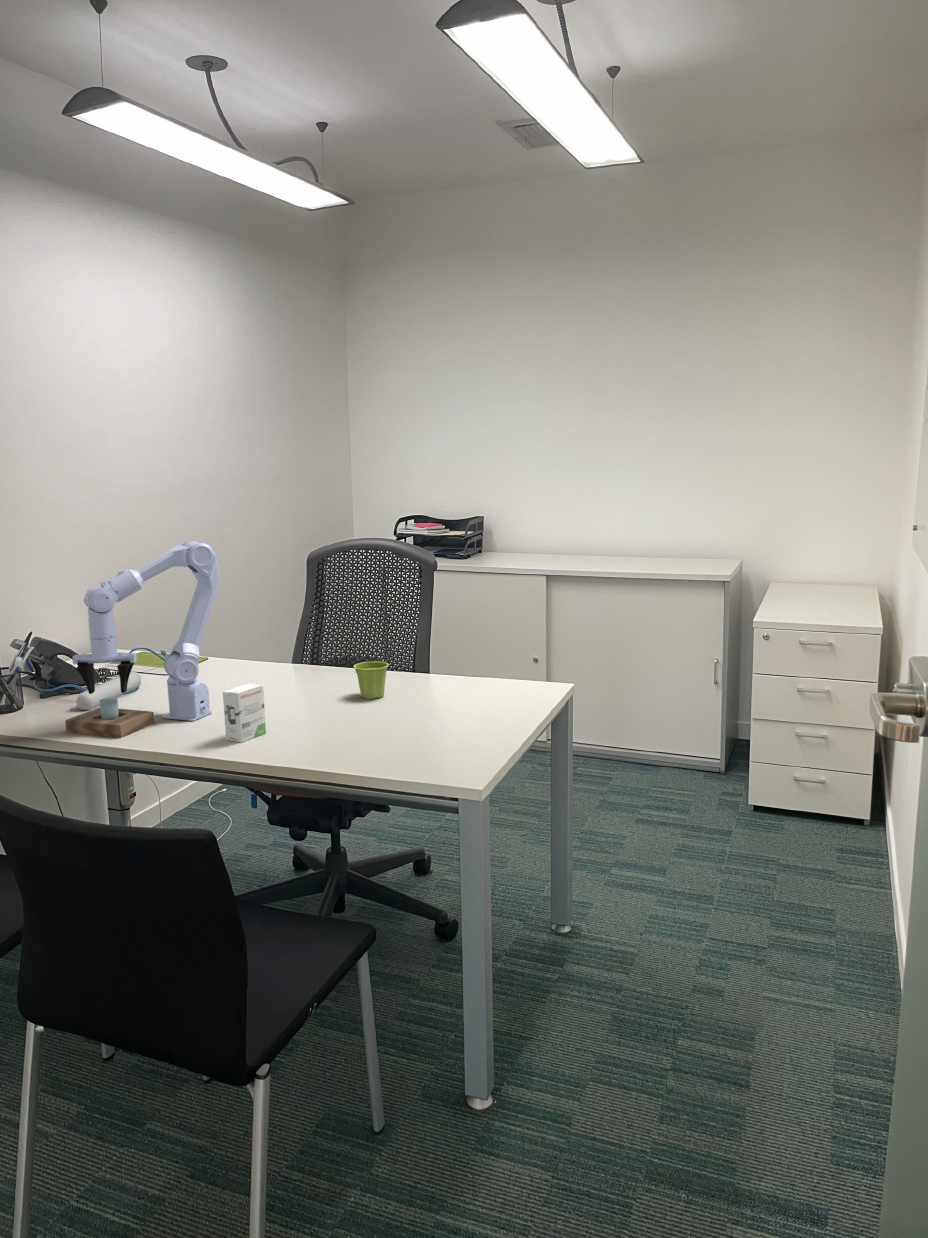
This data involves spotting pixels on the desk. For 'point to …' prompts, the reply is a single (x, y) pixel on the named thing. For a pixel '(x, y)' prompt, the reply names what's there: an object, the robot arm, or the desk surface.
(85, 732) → the socket board
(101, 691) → the tube
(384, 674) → the plant pot
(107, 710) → the peg
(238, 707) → the ink box
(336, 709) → the desk surface
